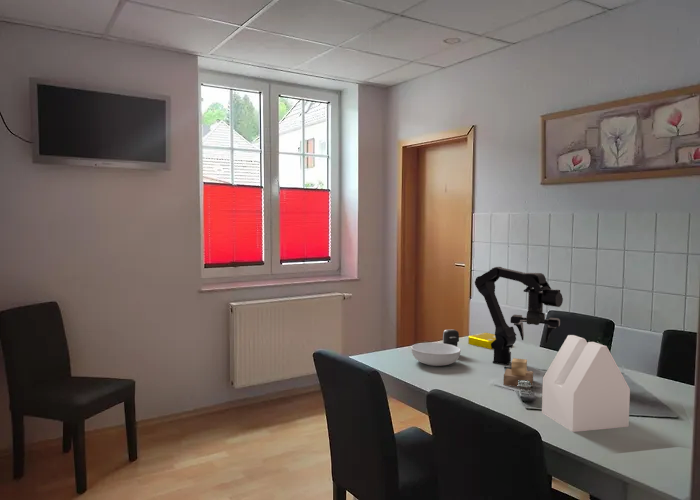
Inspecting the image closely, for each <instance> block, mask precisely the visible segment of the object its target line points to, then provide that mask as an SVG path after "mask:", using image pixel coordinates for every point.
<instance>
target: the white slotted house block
mask: <svg viewBox="0 0 700 500" xmlns="http://www.w3.org/2000/svg"><path fill="white" fill-rule="evenodd" d="M541 394H542V396H541V397H542V399H541V403H542V404H541V413H542V414H543V415H545V416H547V417H548V418H549V419H551V420H553V421H554V422H556V423H557V424H559V425H560V426H563V428H565V429H567V430H568V431H570V432H573V433H574V432H584V431H585V432H586V431H597V430H607V429H616V428H617V429H619V428H627V427H628V428H629V427H630V425H629V420H630V400H631V399H630V398H631V389H630V386H629V385H628V383H627V381H626V379H625V377H624V375H623V374H622V372H621V369H620V368H619V366H618V365H617V363H616V361H615V359H614V357H613V355H612V354H611V352H610V350H609V348H608V346H607V345H605V344H604V345H603V344H602V343H598V342H595V341H588V342H587V339H585V338H584V337H580V336H578V335H575V334H568V335H567V336H566V338H565V339H564V342H563V343H562V345H561V347H559V350H558V352H557V353H556V354H555V357H554V358H553V360H552V362H551V363H550V365H549V367H548V368H547V370H546V372H545V374H544V376H543V377H542V393H541Z"/></svg>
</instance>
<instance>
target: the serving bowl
mask: <svg viewBox="0 0 700 500" xmlns="http://www.w3.org/2000/svg"><path fill="white" fill-rule="evenodd" d="M410 348H411V353H412V356H413V358H414V359H415V360H417V361H418V362H420V363H422V364H424V365H426V366H427V365H428V366H432V367H443V366H448V365H452V364H454V363H456V362H457V360H458V359H459V358H460V355H461V348H460V347H458V346H457V347H456V346H453V345H450V344H444V343H443V342H420V343H419V342H418V343H415V344H412V345H411V347H410Z"/></svg>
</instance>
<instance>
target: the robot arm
mask: <svg viewBox="0 0 700 500" xmlns="http://www.w3.org/2000/svg"><path fill="white" fill-rule="evenodd" d="M500 278H503V279H508V280H511V281H515V282H520V283H522V284H523V285H525V286H526V288H525V289H523V293H528V298H527V299H528V300H527V301H528V302H527V308H528V309H527V312H526V317H523V315H522V314H513V315H511V316H510V324H513V326H516V328H517V329H518V332H519V335H520V337H521V340H522V341H524V336H525V334H524V323H526V324H527V325H535V326H539V325H540V324H545V325H547V328H546V335H545V344H547V343H548V341H549V338H550V335H551V333H552V331H553V330H555V329H556V328H559V327H560V325H561V319H560V318H559V317H549V318H548V319H547V318H546V313H545V312H544V309H543V308H544V305H545V306H548V307H555V308H561V306H562V304H563V301H564V298H563V295H562V293H561V289H553V288H551V286H550V284H549V283H548V281H547V278H546V275H545V274H544V273H542V272H541V273H540V272H522V271H518V270H514V269H508V268H505V267H502V266H493V267H492V268H491V269H489V270H488V271H487V272H484V273H483V274H481V275H478V276H477V277H476V278H475V280H474V285H475V287H476V289H477V291H478V292H479V293H480V294H481V296H483V298H484V301H485V303H486V306H487V309H488V311H489V314H490V317H491V320H492V322H493V324H494V329H495V330H494V334H495V337H496V340H494V341H493V342H492V343H491V347H492V349H491V350H493V360H492V363H493V364H499V365H509V364H510V363H511V362H512V351H510V350H511V349H512V348H513V345H514V344H515V343H516V341H517V333H516V332H515V328H514V327H513V326H509V325H508V324H507V322H506V319H505V316H504V314H503V311H502V309H501V307H500V304H499V301H498V298H497V295H496V284H495V283H496V282H497V281H498V280H499V279H500Z"/></svg>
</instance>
